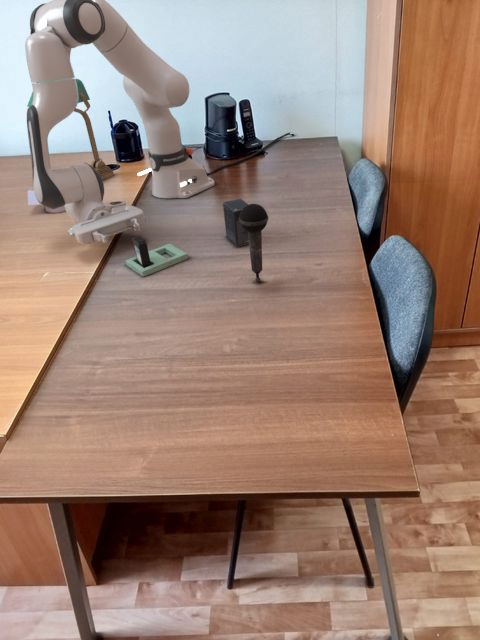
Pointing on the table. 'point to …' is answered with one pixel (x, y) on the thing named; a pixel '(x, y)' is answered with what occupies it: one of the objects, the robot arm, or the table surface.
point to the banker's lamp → (83, 97)
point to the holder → (158, 259)
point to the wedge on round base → (33, 201)
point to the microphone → (254, 233)
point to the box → (235, 222)
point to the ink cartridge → (141, 251)
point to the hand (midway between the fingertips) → (122, 233)
